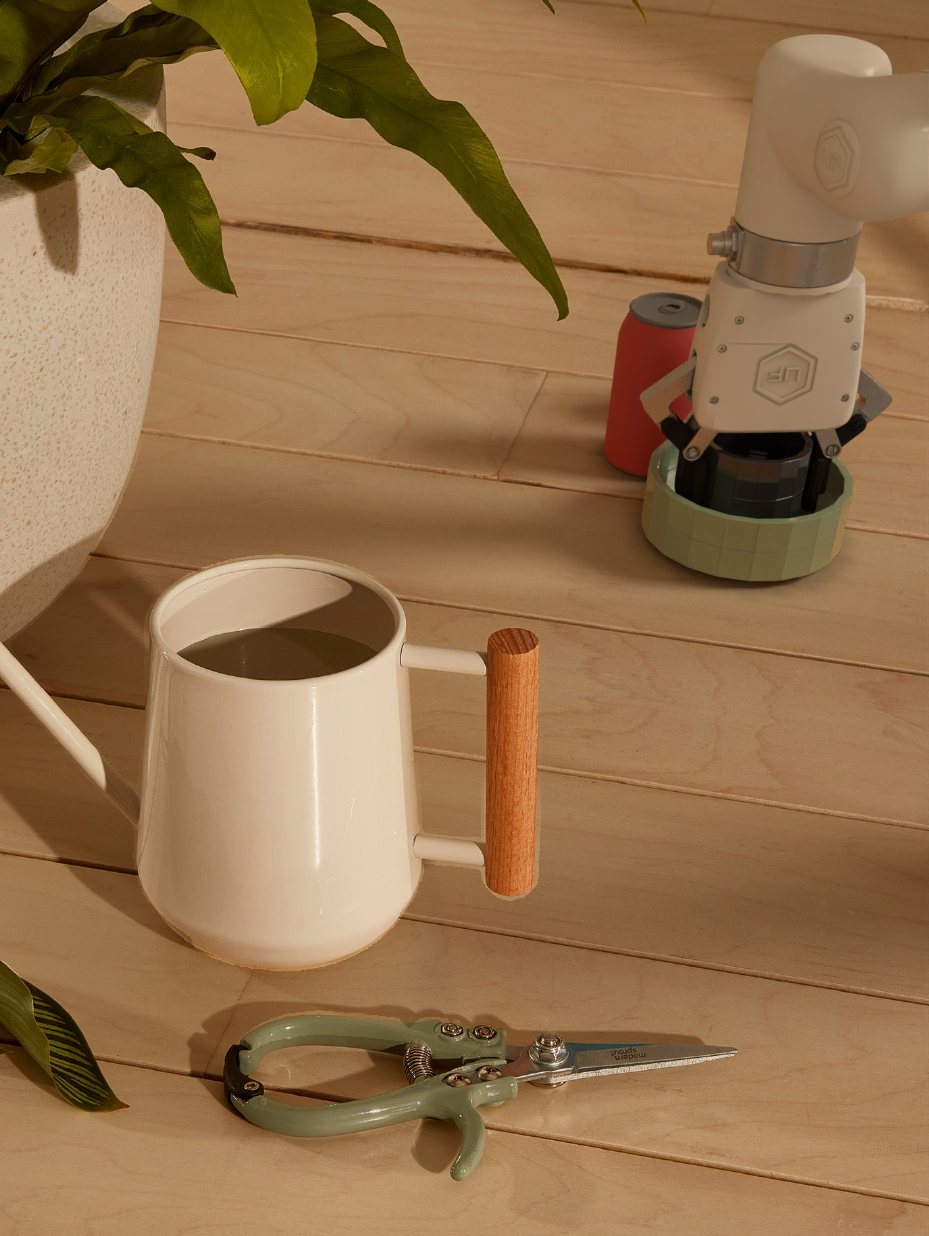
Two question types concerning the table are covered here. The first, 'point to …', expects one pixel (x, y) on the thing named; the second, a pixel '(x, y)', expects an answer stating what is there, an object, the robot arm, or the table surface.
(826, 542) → the big bowl
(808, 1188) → the table surface
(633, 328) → the beer can
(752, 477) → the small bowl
